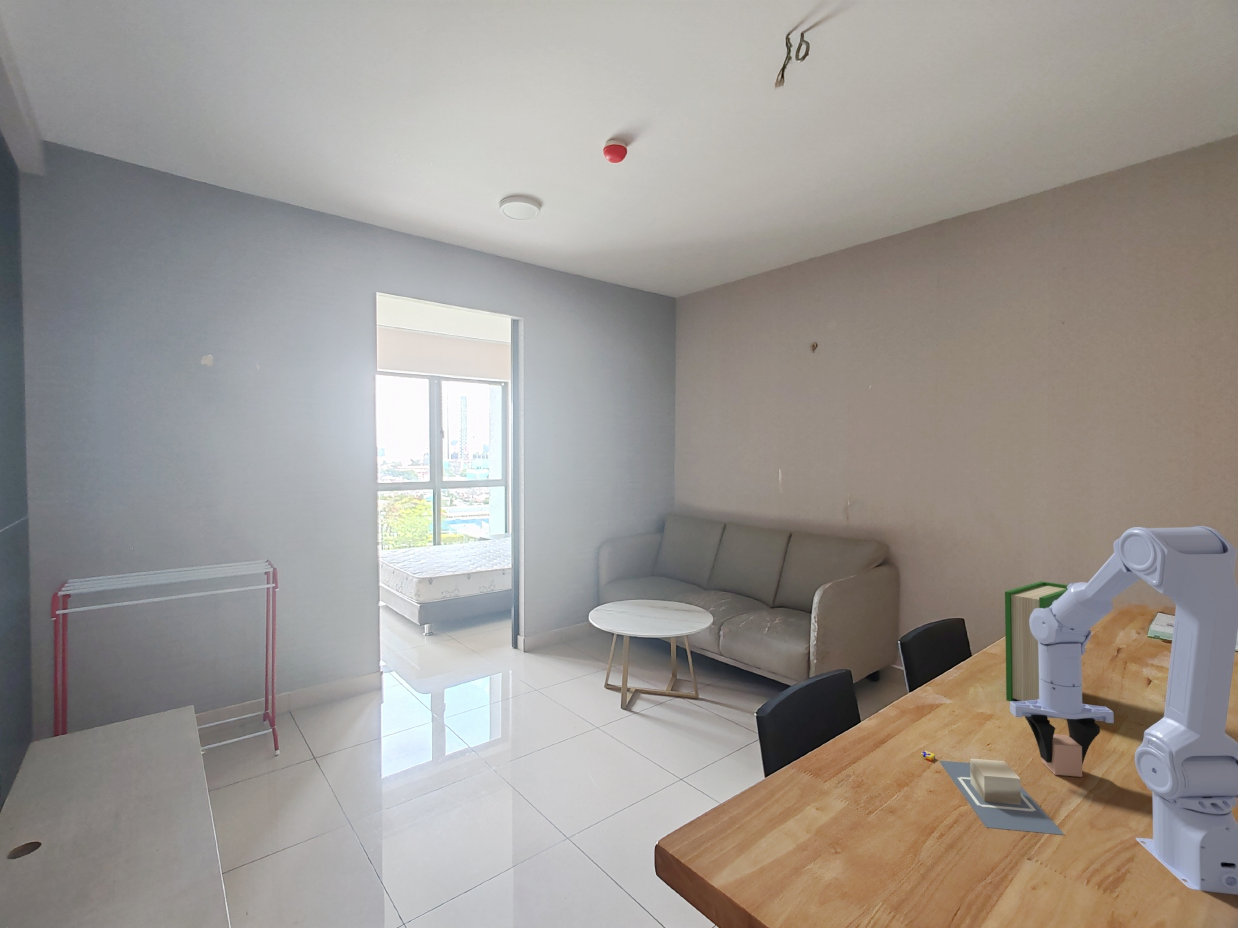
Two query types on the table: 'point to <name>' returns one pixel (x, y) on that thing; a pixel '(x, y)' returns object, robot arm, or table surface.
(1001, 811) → the board
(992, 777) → the birch base block
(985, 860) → the table surface
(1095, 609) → the robot arm
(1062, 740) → the terracotta block
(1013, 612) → the hardback book
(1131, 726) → the table surface
